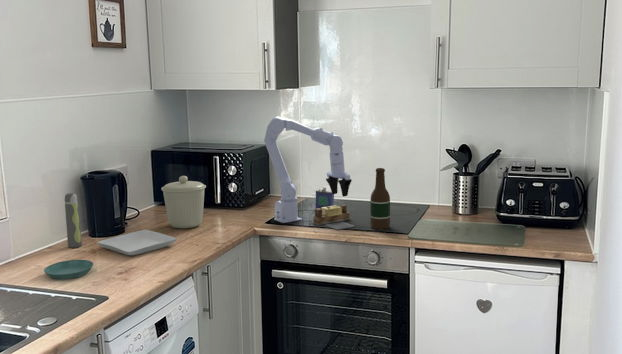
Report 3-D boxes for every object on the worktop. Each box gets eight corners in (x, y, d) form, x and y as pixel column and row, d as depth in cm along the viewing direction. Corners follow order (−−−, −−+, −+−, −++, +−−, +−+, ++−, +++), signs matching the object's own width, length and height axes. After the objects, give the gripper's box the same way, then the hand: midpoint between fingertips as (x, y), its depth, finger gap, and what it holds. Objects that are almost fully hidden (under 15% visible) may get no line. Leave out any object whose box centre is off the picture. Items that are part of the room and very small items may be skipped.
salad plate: (129, 260, 208) (128, 251, 207) (96, 249, 222) (95, 240, 221) (179, 246, 224) (178, 237, 223) (145, 237, 238) (145, 228, 237)
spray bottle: (85, 245, 226) (80, 192, 223) (74, 248, 222) (70, 195, 219) (75, 244, 229) (70, 192, 225) (65, 247, 224) (60, 194, 221)
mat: (337, 230, 241) (337, 229, 241) (324, 225, 248) (324, 224, 248) (355, 226, 246) (355, 225, 245) (342, 222, 253) (342, 221, 253)
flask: (335, 210, 275) (334, 187, 273) (332, 212, 273) (331, 188, 271) (317, 208, 280) (316, 186, 278) (314, 210, 277) (313, 187, 275)
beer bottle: (389, 225, 247) (389, 166, 243) (390, 229, 240) (390, 169, 236) (370, 224, 248) (370, 166, 244) (370, 229, 241) (370, 170, 237)
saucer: (49, 269, 200) (48, 261, 199) (96, 265, 203) (95, 257, 203) (40, 284, 186) (39, 276, 185) (91, 279, 189) (90, 271, 189)
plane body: (317, 225, 250) (317, 210, 249) (312, 223, 253) (312, 208, 252) (350, 219, 258) (350, 205, 257) (345, 217, 261) (344, 203, 260)
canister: (212, 228, 248) (209, 177, 244) (167, 233, 241) (163, 181, 238) (203, 218, 265) (200, 171, 261) (160, 223, 258) (157, 174, 254)
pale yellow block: (328, 216, 251) (327, 208, 251) (321, 214, 255) (321, 206, 255) (341, 214, 255) (341, 206, 254) (335, 212, 259) (335, 204, 258)
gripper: (355, 163, 251) (357, 195, 254) (335, 160, 264) (337, 191, 266) (341, 165, 248) (343, 198, 250) (321, 163, 260) (324, 194, 262)
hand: (339, 194), depth 258 cm, fingers open, 7 cm apart
